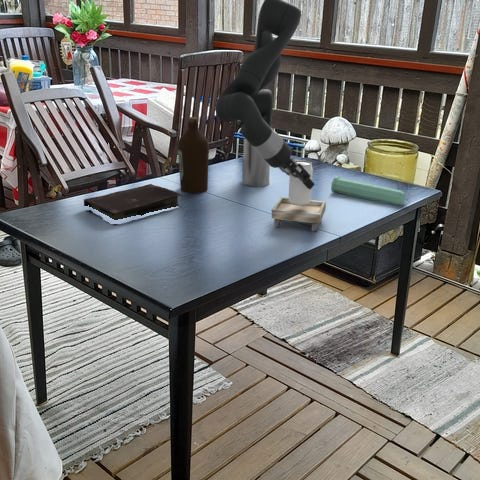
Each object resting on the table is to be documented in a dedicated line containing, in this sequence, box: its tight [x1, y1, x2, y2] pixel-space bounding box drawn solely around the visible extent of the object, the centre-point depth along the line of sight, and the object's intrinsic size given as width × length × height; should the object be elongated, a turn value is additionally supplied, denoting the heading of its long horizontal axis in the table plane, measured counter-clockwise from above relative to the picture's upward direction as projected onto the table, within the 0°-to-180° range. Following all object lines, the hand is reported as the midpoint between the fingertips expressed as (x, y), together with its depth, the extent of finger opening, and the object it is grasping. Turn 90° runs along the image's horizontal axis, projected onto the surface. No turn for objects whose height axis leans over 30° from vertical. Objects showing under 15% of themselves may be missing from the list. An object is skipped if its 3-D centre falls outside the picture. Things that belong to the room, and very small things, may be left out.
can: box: [288, 159, 314, 206], centre depth 172 cm, size 6×6×12 cm
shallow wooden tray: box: [271, 196, 327, 232], centre depth 176 cm, size 14×12×6 cm
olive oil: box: [177, 116, 210, 194], centre depth 202 cm, size 11×11×25 cm
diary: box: [83, 183, 182, 220], centre depth 186 cm, size 19×25×5 cm
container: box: [330, 175, 406, 206], centre depth 200 cm, size 6×6×25 cm
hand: (305, 183), depth 173 cm, fingers closed on can, 6 cm apart
